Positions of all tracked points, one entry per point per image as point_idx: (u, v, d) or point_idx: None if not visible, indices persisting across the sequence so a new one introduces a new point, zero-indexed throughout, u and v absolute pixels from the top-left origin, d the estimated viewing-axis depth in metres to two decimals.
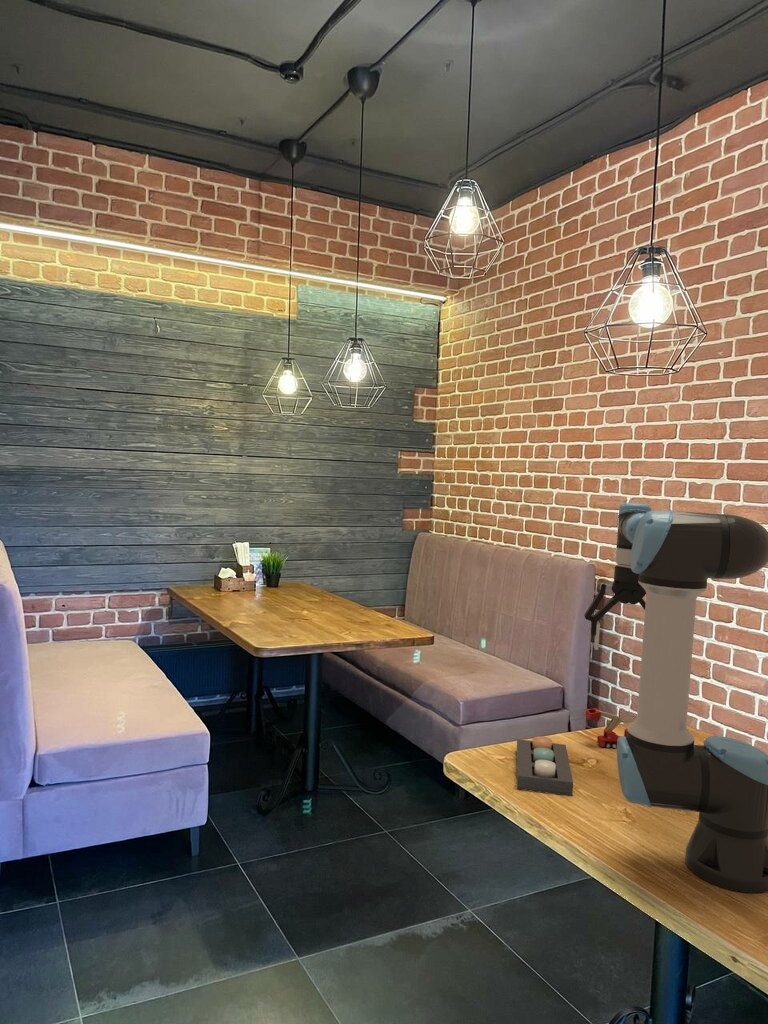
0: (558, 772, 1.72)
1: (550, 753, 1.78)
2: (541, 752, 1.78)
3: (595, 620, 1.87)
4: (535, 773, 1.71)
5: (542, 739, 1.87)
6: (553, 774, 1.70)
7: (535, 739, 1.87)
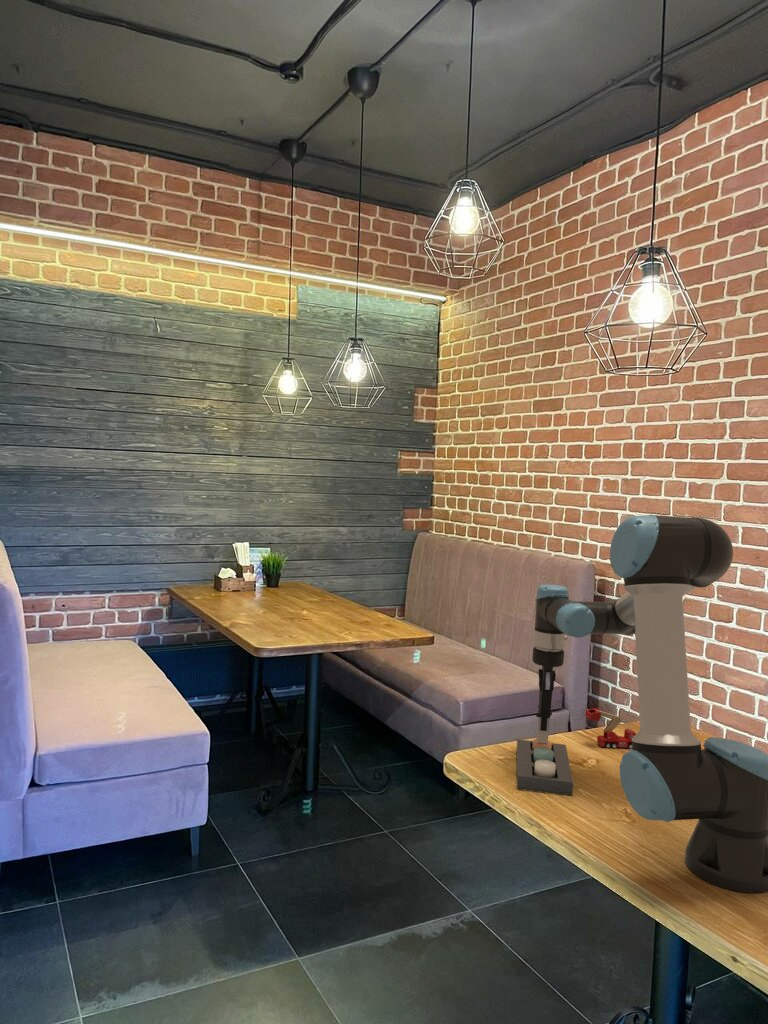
0: (558, 772, 1.72)
1: (550, 753, 1.78)
2: (541, 752, 1.78)
3: (538, 710, 1.88)
4: (535, 773, 1.71)
5: (542, 743, 1.87)
6: (553, 774, 1.70)
7: (535, 743, 1.87)
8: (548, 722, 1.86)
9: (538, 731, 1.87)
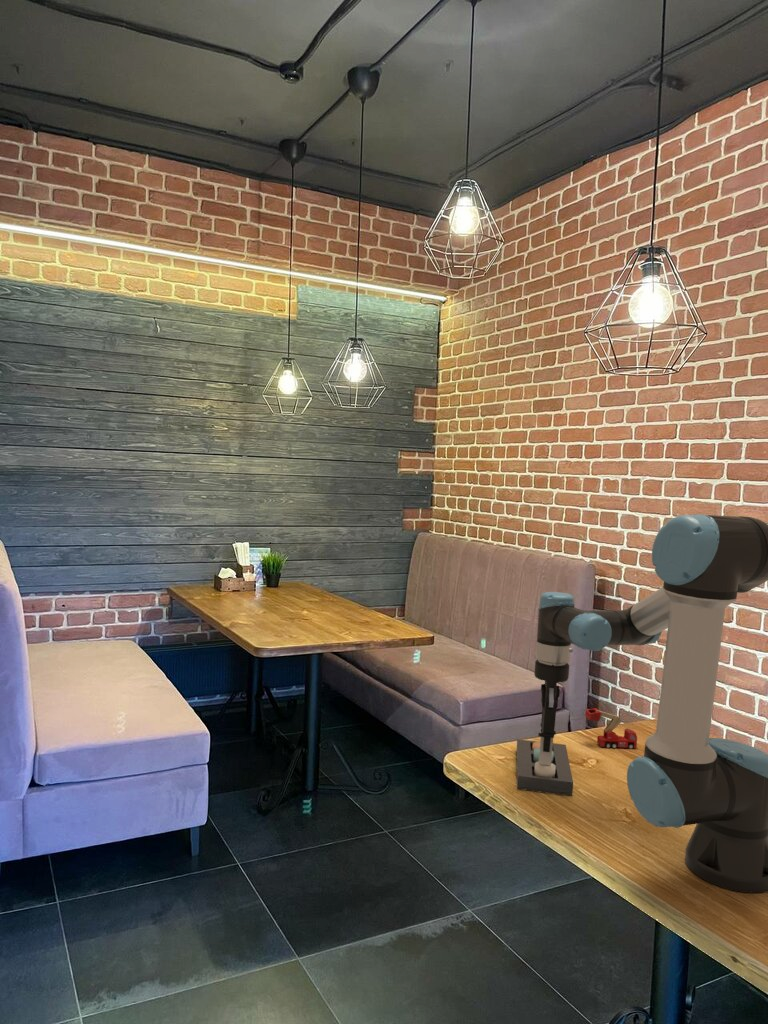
0: (558, 772, 1.72)
1: None
2: None
3: (541, 729, 1.72)
4: (535, 774, 1.71)
5: None
6: (553, 775, 1.70)
7: (535, 744, 1.87)
8: (551, 742, 1.70)
9: (541, 752, 1.71)
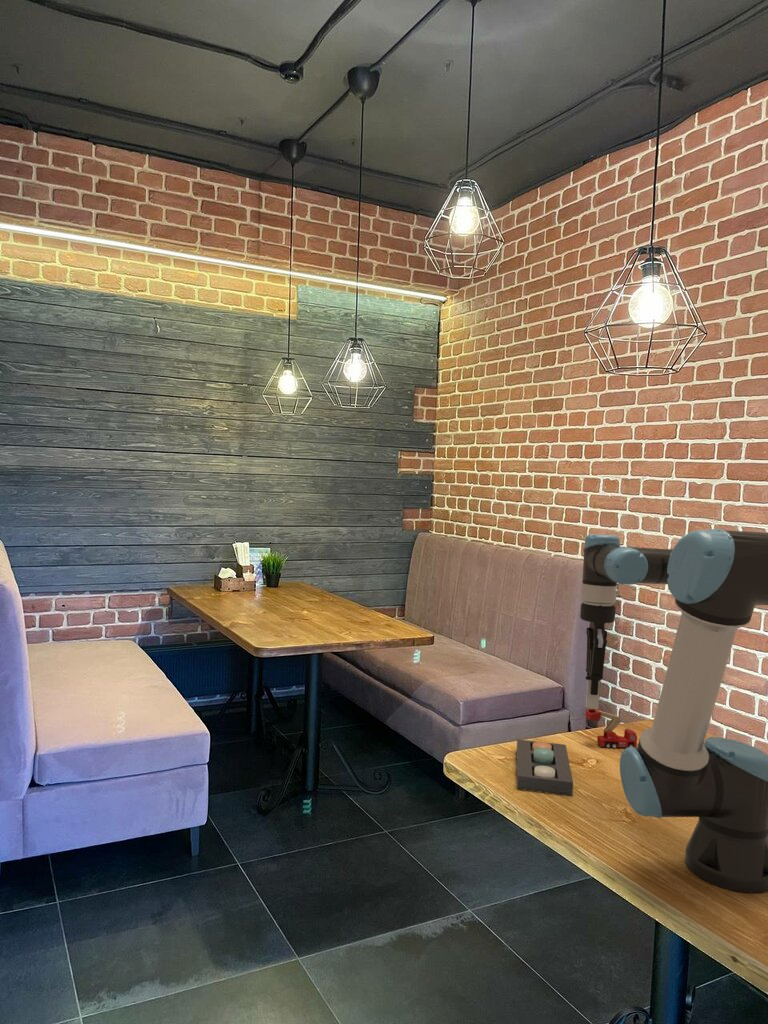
0: (558, 772, 1.72)
1: (550, 753, 1.78)
2: (541, 752, 1.78)
3: (587, 673, 1.71)
4: None
5: (542, 744, 1.87)
6: None
7: (535, 744, 1.87)
8: (599, 685, 1.69)
9: (588, 696, 1.69)
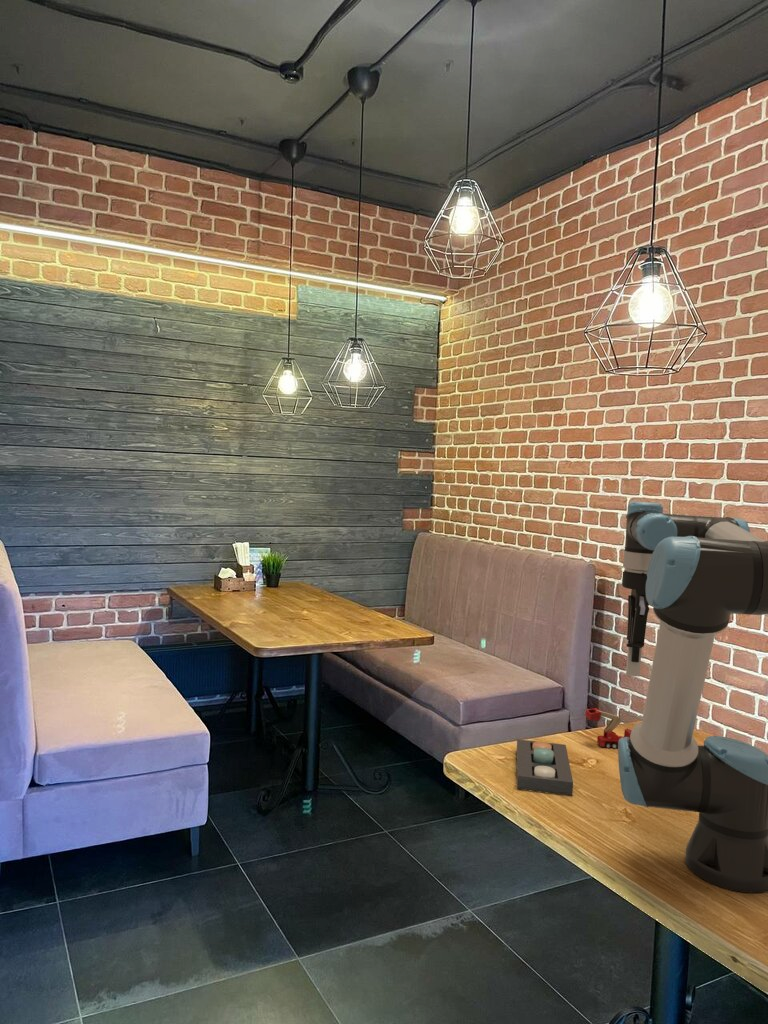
0: (558, 772, 1.72)
1: (550, 753, 1.78)
2: (541, 752, 1.78)
3: (628, 641, 1.71)
4: None
5: (542, 744, 1.87)
6: None
7: (535, 744, 1.87)
8: (640, 653, 1.69)
9: (629, 663, 1.69)
